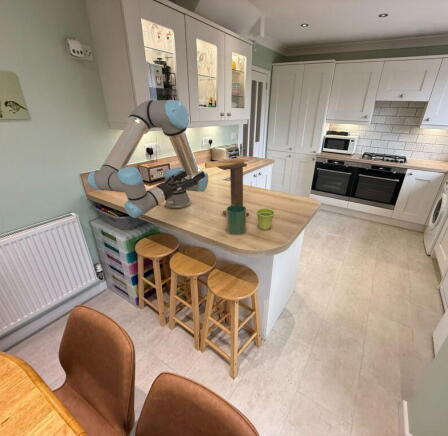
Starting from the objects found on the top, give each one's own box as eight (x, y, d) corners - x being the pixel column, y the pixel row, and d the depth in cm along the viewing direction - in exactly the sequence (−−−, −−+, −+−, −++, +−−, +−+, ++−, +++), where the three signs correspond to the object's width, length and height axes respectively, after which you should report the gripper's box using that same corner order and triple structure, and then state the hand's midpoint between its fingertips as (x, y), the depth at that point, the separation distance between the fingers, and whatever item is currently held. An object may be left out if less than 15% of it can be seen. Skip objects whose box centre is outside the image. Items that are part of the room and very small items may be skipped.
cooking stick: (205, 167, 116) (204, 162, 115) (241, 161, 127) (241, 157, 126) (207, 168, 114) (206, 163, 113) (243, 162, 125) (243, 158, 124)
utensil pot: (223, 228, 121) (222, 207, 116) (239, 223, 126) (238, 203, 121) (233, 236, 114) (233, 214, 109) (249, 231, 119) (249, 209, 114)
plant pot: (272, 222, 127) (273, 208, 123) (275, 231, 119) (276, 215, 115) (255, 223, 127) (255, 208, 123) (256, 231, 118) (257, 216, 115)
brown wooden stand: (217, 214, 136) (215, 163, 123) (238, 209, 144) (237, 160, 131) (227, 221, 128) (225, 167, 115) (248, 215, 136) (249, 164, 123)
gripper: (148, 198, 111) (181, 179, 124) (180, 204, 96) (214, 181, 109) (141, 184, 107) (176, 166, 120) (173, 187, 92) (209, 166, 105)
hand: (194, 173), depth 115 cm, fingers open, 13 cm apart
